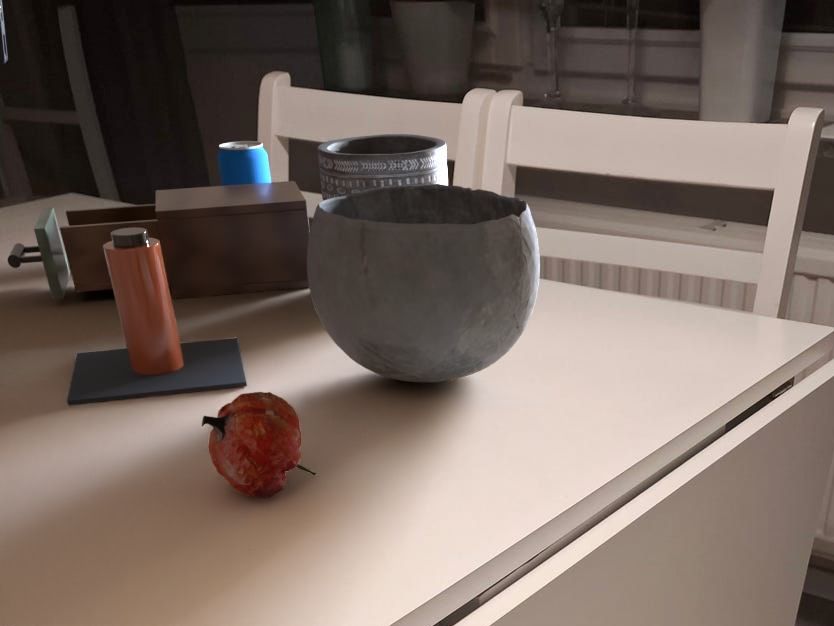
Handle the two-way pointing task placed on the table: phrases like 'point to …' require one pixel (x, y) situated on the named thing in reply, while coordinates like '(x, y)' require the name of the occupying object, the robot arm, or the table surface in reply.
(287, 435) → the pomegranate
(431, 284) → the bowl
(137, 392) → the mat
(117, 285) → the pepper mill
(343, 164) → the planter
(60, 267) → the drawer
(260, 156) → the beverage can
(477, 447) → the table surface
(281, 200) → the cabinet
